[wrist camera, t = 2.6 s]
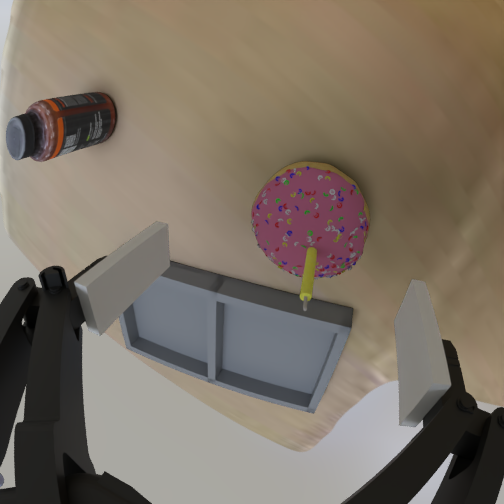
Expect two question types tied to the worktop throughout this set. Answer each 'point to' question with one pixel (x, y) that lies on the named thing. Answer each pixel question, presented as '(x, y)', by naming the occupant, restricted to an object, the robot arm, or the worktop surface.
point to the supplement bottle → (60, 126)
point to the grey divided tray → (239, 335)
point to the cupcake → (311, 222)
